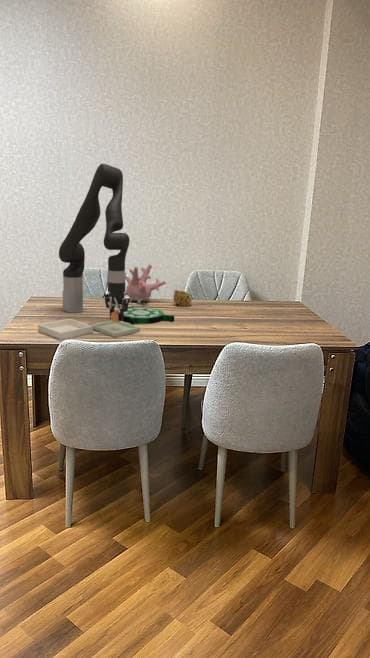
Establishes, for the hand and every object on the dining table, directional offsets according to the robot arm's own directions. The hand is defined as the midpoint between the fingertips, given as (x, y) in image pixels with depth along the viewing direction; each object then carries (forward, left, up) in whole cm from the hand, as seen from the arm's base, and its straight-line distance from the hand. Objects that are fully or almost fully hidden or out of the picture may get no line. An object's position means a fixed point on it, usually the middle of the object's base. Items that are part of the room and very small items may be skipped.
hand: (116, 319), depth 211 cm
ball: (0, 0, +1) cm, 1 cm away
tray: (0, 0, -5) cm, 5 cm away
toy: (-34, +46, -5) cm, 57 cm away
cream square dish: (-11, -18, -5) cm, 22 cm away
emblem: (-7, +23, -6) cm, 24 cm away
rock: (-16, +60, -5) cm, 62 cm away
